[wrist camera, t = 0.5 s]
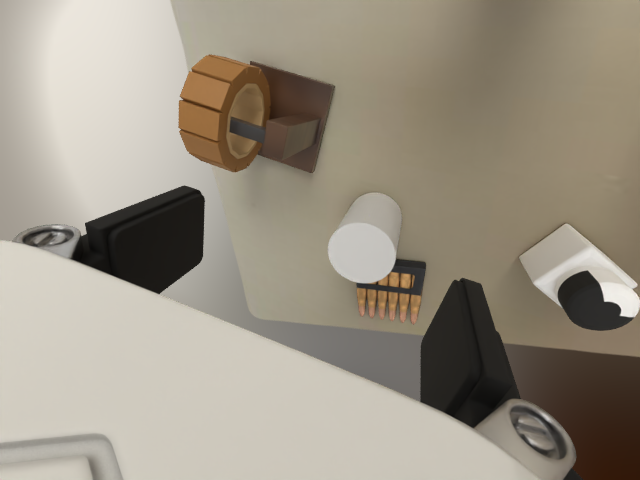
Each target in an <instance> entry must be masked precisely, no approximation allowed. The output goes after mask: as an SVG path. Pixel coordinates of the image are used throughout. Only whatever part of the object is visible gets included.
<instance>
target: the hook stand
mask: <svg viewBox="0 0 640 480" xmlns="http://www.w3.org/2000/svg"><path fill="white" fill-rule="evenodd" d="M250 65H252V66H256V67H259V68H260V69H261V70H262V72H263V74H264V75H265V77H266V79H267V81H268V85H269V90H270V102H271V105H270V107H269V108H271V109H270V116H269V120H267V121H266V128H265V127H262V126H259V125H256V124H253V123H250V122H247V121H244V120H241V119H238V118H235V117H232V116H231V118H230V129H229V132H230V133H233V134H236V135H239V136H242V137H245V138H248V139H251V140H254V141H257V142H260V143H262V145H261V148H260V150H258V155H261V156H264V157H266V158H269V159H272V160H275V161H278V162H281V163H284V164H287V165H290V166H292V167H295V168H298V169H301V170H304V171H307V172H310V173H313V172H314V170H315V166H316V162H317V158H318V154H319V149H320V145H321V141H322V137H323V133H324V129H325V125H326V121H327V117H328V113H329V108H330V104H331V100H332V96H333V92H334V88H335V86H334V85H330V84H327V83H324V82H320V81H317V80H313V79H310V78H307V77H303V76H300V75H297V74H293V73H290V72H287V71H283V70H280V69H277V68H273V67H270V66H266V65H263V64H260V63H256V62H252V61H250Z"/></svg>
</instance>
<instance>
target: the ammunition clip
mask: <svg viewBox="0 0 640 480" xmlns="http://www.w3.org/2000/svg"><path fill="white" fill-rule="evenodd" d="M425 270H426V263H425V262H415V261H404V260H395V264H394V266H393V268H392V270H391V272H390V273H389V274H388V275H387V276H386V277H384V278H383V279H381V280H379V281H376V282H373V283H357V282H356V283H357V298H358V304H359V312H360V315H361V317H363V315H364V313H365V305H366V298H367V299H368V306H369V314H370V317H371V318H373V316H374V314H375V306H376V300H377V290H378V306H379V316H380V318H381V320H382V319H383V318H384V315H385V311H386V303H387V297H388V303H389V316H390V320H391V321H393V320H394V318H395V314H396V308H397V303H398V295H399V305H400V320H401V322H402V323H403V322H404V321H405V319H406V315H407V309H408V305H409V299H410V295H411V299H410V306H411V322H412V324H413V325H414V324H415V322H416V320H417V317H418V312H419V307H420V304H421V296H422V287H423V282H424V276H425ZM400 273H401V277H400ZM388 278H389V280H388ZM411 278H412V282H411ZM377 284H378V285H377Z"/></svg>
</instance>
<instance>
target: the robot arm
mask: <svg viewBox="0 0 640 480" xmlns="http://www.w3.org/2000/svg"><path fill="white" fill-rule="evenodd" d="M204 202H205V200H204V196H203V195H202V194H201V192H200V191H199V190H197V189H194V188H191V187H188V186H181V187H179V188H176V189H174V190H171V191H168V192H166V193H163V194H160V195H158V196H155V197H152V198H150V199H147V200H145V201H142V202H139V203H137V204H134V205H131V206H129V207H126V208H124V209H121V210H118V211H116V212H113V213H111V214H108V215H105V216H103V217H100V218H98V219H95V220H92V221H89V222H87V223H85V226H86V231H87V234H86V235H83V236H81V233H80V231H79V230H78V229H77V228H75V227H72V226H68V225H58V224H55V225H43V226H37V227H33V228H30V229H27V230H25V231H23V232H21V233H19V234H18V235H17V236H16V237H15V238H14V240H13V241H12V242H9V241H3V240H0V480H583V479H582V478H581V477H580V476H579V475H578V474H577V473H576V472H575V471H574V470H573V469H572V466H573V465H574V463H575V459H576V453H575V448H574V445H573V444H572V441H571V439H570V437H569V436H568V434H567V433H566V432H565V430H564V429H563V428H562V426H560V424H559V423H558V422H557V421H556V420H555V419H554V418H553V417H552V416H551V415H549V414H548V413H547V412H545V411H544V410H542V409H541V408H540V407H538V406H536V405H534V404H532V403H530V402H528V401H524V400H522V399H521V398H520V395H519V392H518V389H517V386H516V383H515V380H514V377H513V374H512V371H511V367H510V364H509V361H508V358H507V355H506V352H505V349H504V346H503V343H502V340H501V337H500V335H499V333H498V332H497V331H496V330H495V326H494V323H493V320H492V317H491V314H490V310H489V307H488V304H487V301H486V298H485V294H484V291H483V288H482V285H481V284H480V283H477V282H474V281H471V280H468V279H465V278H461V279H460V280H459V281H457V280H454V281H453V282H452V284H451V286H450V287H449V289H448V291H447V293H446V295H445V297H444V299H443V301H442V303H441V305H440V307H439V309H438V310H437V312H436V314H435V316H434V318H433V320H432V322H431V324H430V326H429V328H428V330H427V332H426V334H425V335H424V338H423V340H422V343H421V402H419V401H417V400H415V399H412V398H410V397H408V396H406V395H403V394H401V393H399V392H397V391H395V390H392V389H390V388H387V387H385V386H383V385H380V384H378V383H375V382H373V381H370V380H368V379H366V378H363V377H361V376H358V375H356V374H353V373H351V372H348V371H346V370H344V369H341V368H339V367H336V366H334V365H332V364H329V363H327V362H324V361H322V360H319V359H317V358H315V357H312V356H310V355H307V354H305V353H302V352H300V351H297V350H295V349H292V348H290V347H287V346H285V345H282V344H280V343H278V342H275V341H273V340H270V339H268V338H265V337H263V336H260V335H258V334H255V333H253V332H251V331H248V330H246V329H243V328H241V327H238V326H236V325H233V324H230V323H228V322H226V321H223V320H221V319H218V318H216V317H214V316H211V315H208V314H206V313H204V312H201V311H199V310H196V309H194V308H191V307H189V306H186V305H184V304H182V303H179V302H177V301H174V300H171V299H169V298H167V297H164V296H162V295H159V294H160V293H161V292H162V291H163V290H165V289H166V288H168V287H169V286H170V285H172V284H173V283H174V282H175V281H177V280H178V279H180V278H181V277H182V276H183V275H185V274H186V273H187V272H189V271H190V270H191V269H193V268H194V267H195V266H197V265H198V264H199V263H200V262H201V260H202V257H203V236H204Z"/></svg>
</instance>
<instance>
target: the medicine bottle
mask: <svg viewBox="0 0 640 480" xmlns="http://www.w3.org/2000/svg"><path fill="white" fill-rule="evenodd" d="M519 259H520V261H521V263H522V265H523V267H524V268H525V270H526V272H527V274H528V275H529V277H530V279H531V281H532V283H533V284H534V285H535V286H536V287H537V288H539V289H540V290H541V291H542V292H543V293H545V294H546V295H547V296H548V297H549V298H551V299H552V300H553V301H554V302H556V303H557V304H558V305H559V306H560V307H562V308H563V309H564V311H565V312H566V314H567V315H568V317H569V318H570V320H571V321H572V322H573V323H575V324H576V325H578V326H580V327H582V328H586V329H590V330H598V331H604V330H612V329H616V328H619V327H622V326H624V325H626V324H627V323H629V322H630V321H631V320H632V319H633V318H634V317H635V316H636V314H637V313H638V311H639V308H640V300H639V297H638V295H637V294H636V293H635V292H634V291H633V290H632V289H634V288H636V287H637V283H636V282H635V281H634V280H633V279H632V278H630V277H629V276H628V275H627V274H626V273H625V272H624V271H623V270H622V269H621V268H619V267H618V266H617V265H616V264H615V263H614V262H613V261H612V260H611V259H610V258H608V257H607V256H606V255H605V254H604V253H603V252H601V251H600V250H599V249H598V248H597V247H595V246H594V245H593V244H592V243H591V242H590V241H588V240H587V239H586V238H585V237H584V236H582V235H581V234H580V233H579V232H578V231H576V230H575V229H574V228H573V227H572V226H570V225H569V224H564V225H563V226H561V227H560V228H558V229H557V230H556V231H554V232H553V233H551V234H550V235H549V236H547V237H546V238H544V239H543V240H542V241H540V242H539V243H537V244H536V245H535V246H533V247H532V248H530V249H529V250H527V251H526V252H525V253H523V254H522V255H520V256H519Z"/></svg>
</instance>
